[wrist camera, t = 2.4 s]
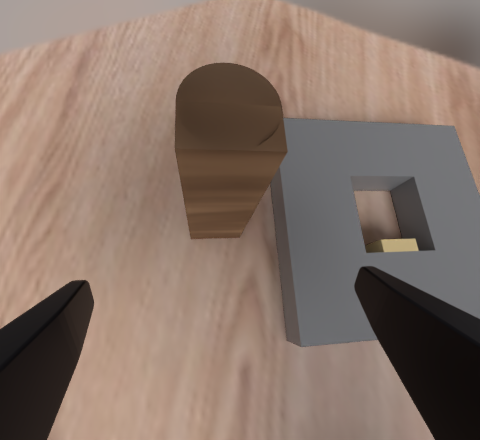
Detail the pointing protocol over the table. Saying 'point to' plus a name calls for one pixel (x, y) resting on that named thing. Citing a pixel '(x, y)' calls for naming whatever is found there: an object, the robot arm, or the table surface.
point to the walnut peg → (226, 146)
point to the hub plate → (349, 229)
